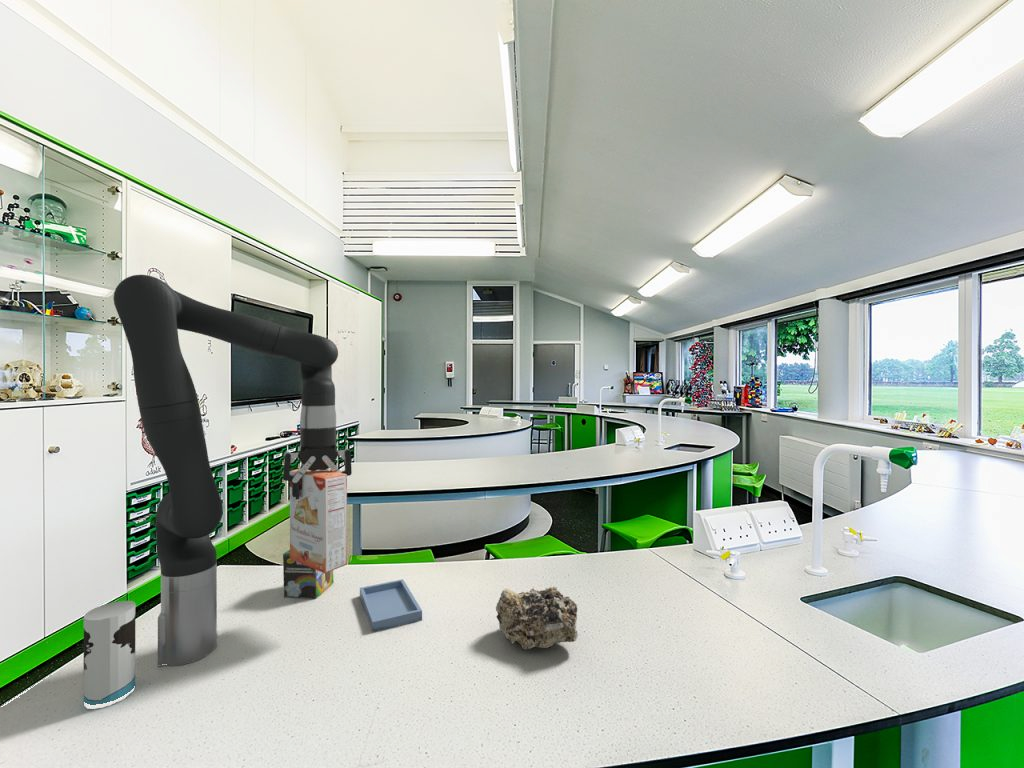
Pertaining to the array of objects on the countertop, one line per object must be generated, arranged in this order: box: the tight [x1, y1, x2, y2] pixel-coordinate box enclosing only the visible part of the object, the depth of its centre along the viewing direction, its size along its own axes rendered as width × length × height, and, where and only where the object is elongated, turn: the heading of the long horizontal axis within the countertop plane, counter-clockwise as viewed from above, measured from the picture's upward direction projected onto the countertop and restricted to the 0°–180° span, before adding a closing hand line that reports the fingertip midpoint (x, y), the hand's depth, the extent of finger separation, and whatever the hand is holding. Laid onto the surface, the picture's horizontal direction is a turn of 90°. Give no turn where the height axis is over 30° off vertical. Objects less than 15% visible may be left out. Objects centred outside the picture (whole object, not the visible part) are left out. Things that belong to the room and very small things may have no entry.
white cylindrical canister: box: [83, 600, 136, 705], centre depth 78 cm, size 7×7×15 cm
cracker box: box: [289, 468, 348, 573], centre depth 102 cm, size 14×6×21 cm, turn 56°
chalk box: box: [282, 549, 335, 600], centre depth 118 cm, size 9×9×15 cm
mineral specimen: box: [495, 586, 579, 650], centre depth 97 cm, size 16×18×10 cm
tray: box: [359, 578, 423, 633], centre depth 109 cm, size 11×19×2 cm, turn 27°
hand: (318, 496), depth 102 cm, fingers closed on cracker box, 8 cm apart
